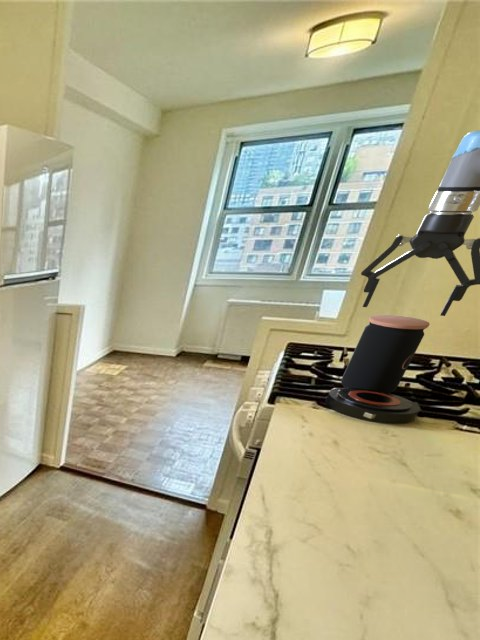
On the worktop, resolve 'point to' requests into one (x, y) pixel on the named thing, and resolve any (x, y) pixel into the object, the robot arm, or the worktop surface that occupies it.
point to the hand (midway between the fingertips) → (402, 310)
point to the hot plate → (372, 405)
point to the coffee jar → (384, 352)
